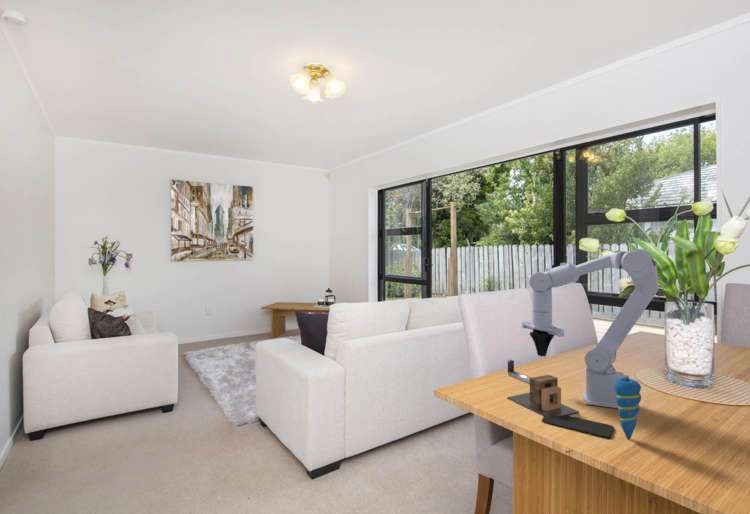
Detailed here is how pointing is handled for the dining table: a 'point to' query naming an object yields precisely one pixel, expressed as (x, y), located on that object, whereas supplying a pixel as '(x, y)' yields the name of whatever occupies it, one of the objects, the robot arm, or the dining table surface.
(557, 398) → the collar
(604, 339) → the robot arm
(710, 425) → the dining table surface
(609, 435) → the phone
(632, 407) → the ornament
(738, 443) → the dining table surface
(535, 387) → the bearing block
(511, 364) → the crank handle
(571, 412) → the base plate
